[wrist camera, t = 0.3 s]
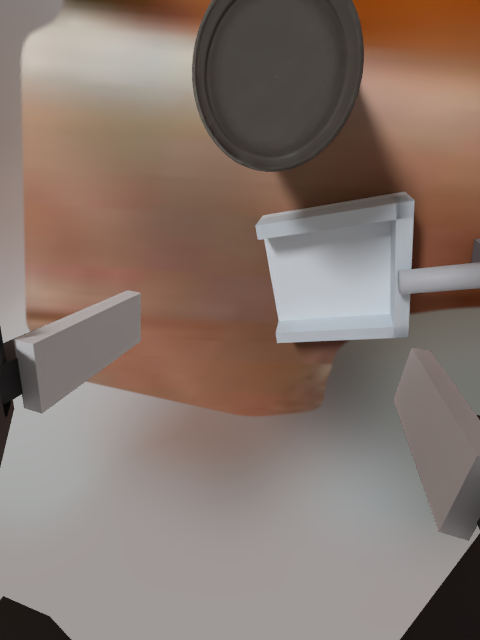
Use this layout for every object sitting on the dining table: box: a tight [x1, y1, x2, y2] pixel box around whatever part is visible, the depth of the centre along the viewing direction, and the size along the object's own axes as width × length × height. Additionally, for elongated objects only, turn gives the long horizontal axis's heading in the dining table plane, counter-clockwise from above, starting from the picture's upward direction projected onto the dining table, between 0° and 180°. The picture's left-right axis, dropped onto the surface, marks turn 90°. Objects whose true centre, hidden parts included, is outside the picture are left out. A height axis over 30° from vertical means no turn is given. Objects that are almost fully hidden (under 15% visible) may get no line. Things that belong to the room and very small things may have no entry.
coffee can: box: [192, 0, 364, 172], centre depth 25 cm, size 10×10×14 cm
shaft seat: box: [255, 192, 480, 343], centre depth 34 cm, size 24×15×7 cm, turn 103°
